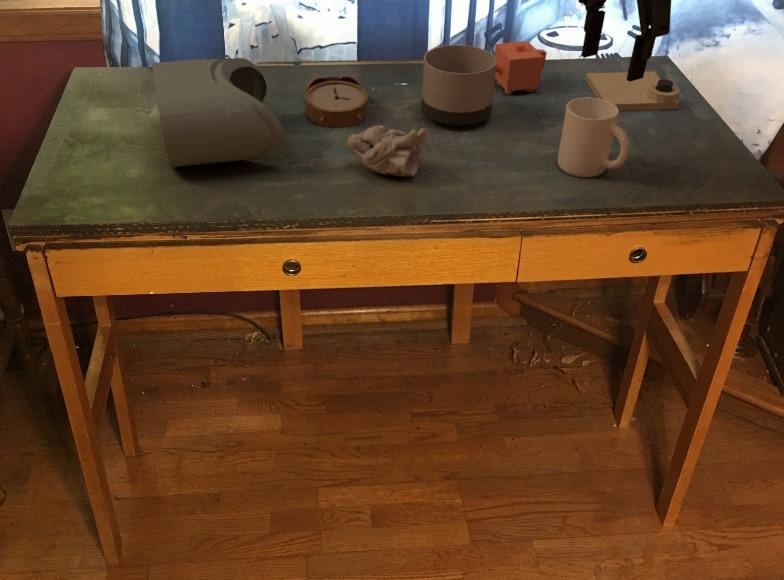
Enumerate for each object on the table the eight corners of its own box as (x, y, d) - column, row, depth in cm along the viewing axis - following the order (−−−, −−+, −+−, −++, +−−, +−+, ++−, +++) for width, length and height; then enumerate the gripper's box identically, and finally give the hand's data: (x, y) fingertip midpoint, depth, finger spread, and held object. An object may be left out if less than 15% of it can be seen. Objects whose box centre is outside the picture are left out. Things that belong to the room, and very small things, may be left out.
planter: (498, 129, 154) (504, 72, 147) (428, 133, 153) (431, 75, 145) (481, 98, 163) (486, 43, 156) (415, 102, 162) (417, 46, 155)
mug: (634, 175, 143) (648, 116, 136) (606, 192, 139) (619, 132, 132) (575, 150, 149) (586, 92, 142) (546, 166, 145) (556, 107, 138)
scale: (680, 110, 162) (684, 94, 159) (606, 112, 160) (609, 96, 158) (654, 78, 172) (658, 63, 170) (585, 80, 171) (587, 65, 168)
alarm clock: (309, 114, 151) (300, 65, 159) (310, 138, 154) (300, 89, 163) (372, 111, 152) (359, 62, 161) (371, 134, 156) (359, 86, 165)
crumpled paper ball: (427, 125, 134) (366, 91, 137) (394, 182, 136) (335, 147, 139) (441, 140, 142) (383, 107, 145) (410, 194, 143) (354, 160, 147)
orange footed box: (476, 81, 169) (480, 39, 164) (533, 75, 172) (538, 33, 166) (490, 98, 164) (494, 54, 158) (548, 92, 166) (554, 49, 160)
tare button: (673, 93, 161) (675, 85, 160) (659, 93, 160) (661, 85, 159) (668, 87, 163) (670, 79, 162) (654, 87, 162) (656, 79, 161)
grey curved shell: (162, 123, 154) (150, 51, 145) (267, 113, 157) (262, 42, 148) (171, 184, 138) (158, 107, 129) (287, 171, 142) (283, 96, 133)
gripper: (570, -113, 122) (546, 46, 137) (685, -72, 108) (644, 99, 124) (609, -119, 125) (582, 38, 140) (726, -80, 111) (681, 88, 127)
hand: (611, 66), depth 132 cm, fingers open, 9 cm apart
